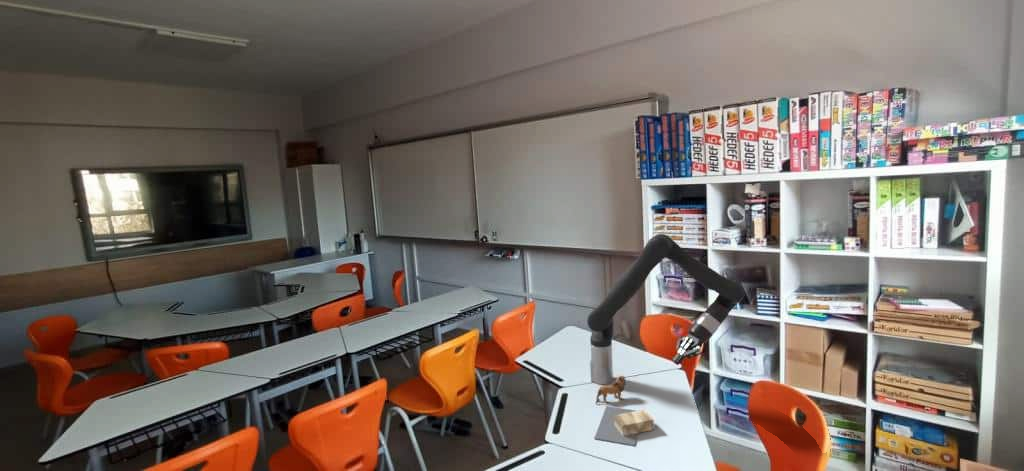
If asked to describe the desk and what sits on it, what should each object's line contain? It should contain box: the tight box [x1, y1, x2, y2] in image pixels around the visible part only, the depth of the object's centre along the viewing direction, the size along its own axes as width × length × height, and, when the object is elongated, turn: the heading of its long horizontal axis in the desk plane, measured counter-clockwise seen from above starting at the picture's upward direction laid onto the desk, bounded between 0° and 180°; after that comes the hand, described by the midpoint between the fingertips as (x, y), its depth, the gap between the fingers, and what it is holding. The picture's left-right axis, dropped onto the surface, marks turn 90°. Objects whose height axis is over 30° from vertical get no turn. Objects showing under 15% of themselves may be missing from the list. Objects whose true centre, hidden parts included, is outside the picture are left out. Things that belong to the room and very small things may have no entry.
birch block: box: [614, 409, 655, 436], centre depth 168 cm, size 4×7×12 cm
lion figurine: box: [595, 375, 627, 404], centre depth 188 cm, size 15×5×9 cm, turn 114°
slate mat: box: [593, 405, 639, 447], centre depth 170 cm, size 14×22×1 cm, turn 157°
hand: (674, 363), depth 171 cm, fingers closed
